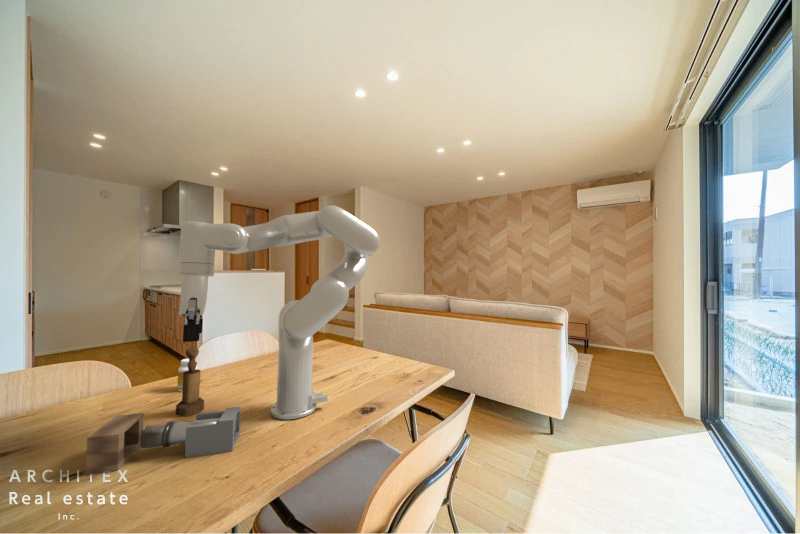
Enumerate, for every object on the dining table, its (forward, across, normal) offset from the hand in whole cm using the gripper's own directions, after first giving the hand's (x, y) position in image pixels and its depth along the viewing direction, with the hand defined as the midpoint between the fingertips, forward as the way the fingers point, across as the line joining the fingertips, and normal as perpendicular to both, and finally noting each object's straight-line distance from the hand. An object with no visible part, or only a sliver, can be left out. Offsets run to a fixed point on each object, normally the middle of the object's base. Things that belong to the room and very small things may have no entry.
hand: (193, 337), depth 74 cm
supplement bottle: (+23, -29, -3) cm, 37 cm away
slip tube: (+22, +11, +2) cm, 24 cm away
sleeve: (+23, +12, +6) cm, 26 cm away
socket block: (+23, +8, -12) cm, 27 cm away
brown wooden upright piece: (+23, -10, 0) cm, 25 cm away
